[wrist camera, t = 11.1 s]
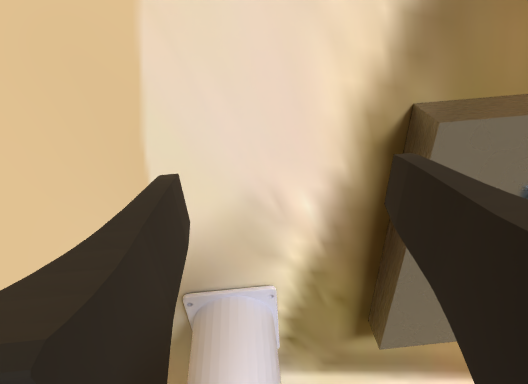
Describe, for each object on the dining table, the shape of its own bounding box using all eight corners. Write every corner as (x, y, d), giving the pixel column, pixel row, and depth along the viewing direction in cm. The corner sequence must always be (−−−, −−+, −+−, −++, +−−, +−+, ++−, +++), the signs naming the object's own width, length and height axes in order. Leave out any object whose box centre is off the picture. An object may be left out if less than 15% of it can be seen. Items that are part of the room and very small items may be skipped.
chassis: (543, 302, 33) (569, 329, 30) (368, 320, 32) (379, 349, 30) (696, 80, 20) (761, 95, 18) (413, 103, 20) (439, 122, 17)
